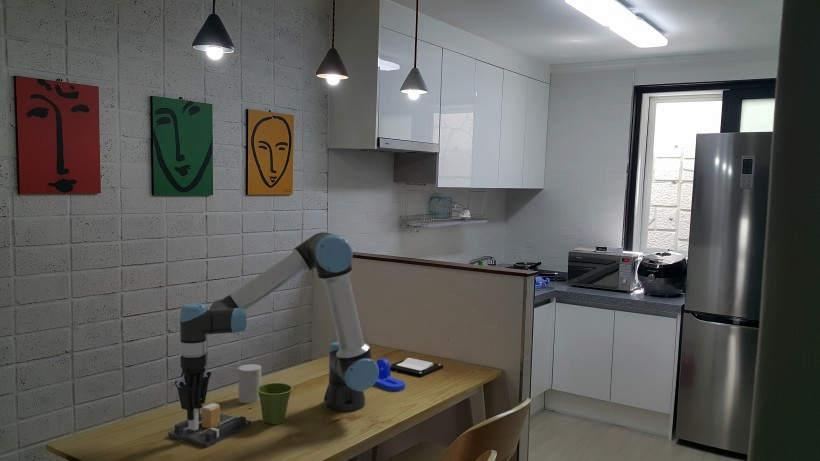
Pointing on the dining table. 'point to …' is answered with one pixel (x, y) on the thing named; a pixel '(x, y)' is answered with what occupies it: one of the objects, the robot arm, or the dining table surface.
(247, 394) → the white cylinder
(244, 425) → the panel
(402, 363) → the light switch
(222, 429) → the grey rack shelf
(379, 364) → the bracket
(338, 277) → the robot arm
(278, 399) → the plant pot
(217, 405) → the orange white block
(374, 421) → the dining table surface
